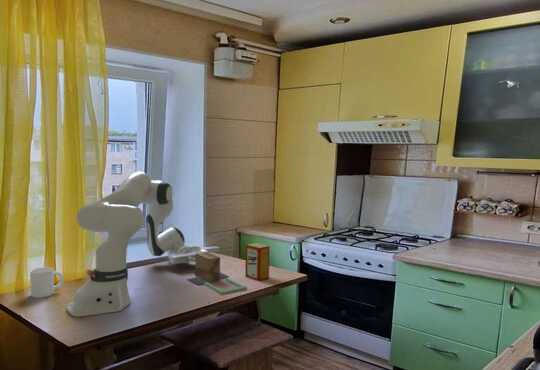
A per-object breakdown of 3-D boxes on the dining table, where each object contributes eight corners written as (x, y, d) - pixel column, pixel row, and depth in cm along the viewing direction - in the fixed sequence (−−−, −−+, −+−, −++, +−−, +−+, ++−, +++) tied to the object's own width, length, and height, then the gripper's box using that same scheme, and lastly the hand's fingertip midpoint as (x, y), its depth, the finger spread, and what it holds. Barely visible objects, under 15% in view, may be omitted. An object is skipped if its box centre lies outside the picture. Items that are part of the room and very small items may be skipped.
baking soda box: (245, 276, 201) (245, 243, 199) (255, 274, 205) (255, 242, 204) (258, 281, 194) (259, 247, 193) (268, 278, 198) (269, 245, 197)
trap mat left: (197, 285, 186) (197, 284, 186) (187, 279, 194) (187, 278, 194) (207, 283, 189) (207, 282, 189) (197, 277, 197) (197, 277, 197)
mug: (61, 288, 178) (61, 265, 177) (65, 294, 172) (65, 269, 171) (29, 293, 171) (28, 269, 170) (32, 299, 164) (31, 274, 164)
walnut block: (208, 282, 190) (208, 259, 190) (195, 275, 201) (195, 253, 200) (219, 280, 194) (220, 257, 193) (206, 273, 204) (206, 251, 203)
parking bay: (220, 294, 175) (220, 292, 174) (203, 284, 187) (203, 282, 187) (246, 288, 182) (246, 286, 182) (228, 279, 195) (228, 277, 195)
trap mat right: (219, 278, 196) (219, 278, 196) (209, 273, 204) (209, 272, 204) (228, 277, 199) (228, 276, 199) (218, 272, 207) (218, 271, 207)
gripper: (165, 251, 210) (177, 256, 199) (201, 246, 223) (214, 251, 212) (165, 263, 211) (177, 269, 200) (201, 257, 223) (214, 263, 212)
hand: (196, 260), depth 206 cm, fingers closed
